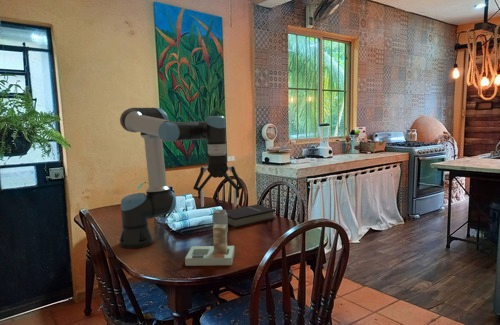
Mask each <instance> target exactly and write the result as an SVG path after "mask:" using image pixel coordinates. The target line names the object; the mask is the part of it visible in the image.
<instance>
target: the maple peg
mask: <svg viewBox="0 0 500 325" xmlns="http://www.w3.org/2000/svg"><path fill="white" fill-rule="evenodd" d="M212 238H213V240H212V241H213V246H214V254H225V255H228V252H227V246H228V232H227V224H215V225H214V227H213V226H212Z"/></svg>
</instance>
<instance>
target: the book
mask: <svg viewBox="0 0 500 325" xmlns="http://www.w3.org/2000/svg"><path fill="white" fill-rule="evenodd" d="M225 210H226V209H225ZM274 212H276V209H274V208H271V207H268V206H264V205H261V204H257V203H256V204H253V205H247V206H246V205H245V206H241V207H237V208H231V209H227V210H226V213H227V220H228V226H229V227H231V228H232V229H240V228H243V227H247V226H251V225H255V224H259V223H264V222H268V221H273V220H276V217H274V216H275V215H274Z"/></svg>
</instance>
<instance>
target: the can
mask: <svg viewBox="0 0 500 325" xmlns="http://www.w3.org/2000/svg"><path fill="white" fill-rule="evenodd" d="M215 224H227V233H228V232H229V227H228V220H227V213H226V209H216V210H213V212H212V228H213V227H214V225H215Z"/></svg>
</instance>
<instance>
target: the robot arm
mask: <svg viewBox="0 0 500 325" xmlns="http://www.w3.org/2000/svg"><path fill="white" fill-rule="evenodd" d="M119 123H120V125H121V127H122V128H123V129H124V130H125V131H127V132H130V133H140V137H141V138H143V140H144V148H145V152H144V153H145V159H146V170H147V171H146V172H147V180H148V188H147V189H146V190H145V191H146V193H145V192H138V193H137V192H136V193H132V194H128V195H126V196H124V197H122V199H121V200H120V213H121V226H122V227H121V228H122V230H121V235H120V237H119V247H120V248H123V249H128V250H129V249H132V250H133V249H139V248H144V247H147V246H149V245H151V244H152V243H153V242H154V240H153V239H154V238H153V234H152V232H151V229H150V228H149V221H148V220H150V219H154V218H158V217H161V216H166V215H169V214H171V213H173V212H174V210H175V209H176V205H177V198H176V195H175V193H174V192H173V191H172V190H171V187H170V186H169V185H167V176H166V165H165V154H164V144H163V143H164V142H166V143H167V142H168V143H173V142H181V141H196V140H198V141H199V140H206V141H207V143H206V144H207V154H208V155H207V162H208V163H207V164H208V166H201V167H200V172H199V175H198V176H197V179H196V181H195V182H194V186H193V187H192V189H193V190H195V191H197V196H198V199H199V200H200V207H201V208H204V206H205V198H204V197H205V194H204V192H205V191H204V189H203V188H204V187H205V185H206V184H207V183H208V182H209V181H210V180H211V178H214V179H216V178H220V179H221V178H224V179H226V180H227V182H228V183H229V184H230V185H231V186H232V187H233V189H234V190H233V198H234V199H233V205H234V208H235V207H237V205H238V199H239V198H240V190H243V189H244V185H243V182H242V181H241V179H240V177H239V175H238V172H236V167H235V165H232V166H228V158H227V157H228V155H226V154H227V151H228V150H227V125H226V124H227V123H226V117H225V116H223V115H209V116H207V117H206V121H205V120H204V121H201V120H200V121H198V120H197V121H196V120H195V121H174V120H169V117H168V114H167V113H166V112H165V111H164V109H162V108H161V107H130V108H128V109H125V110H124V111H123V112H122V113H121V114H120V117H119ZM228 170H229V171H230V173H231V174H232V175H233V177H234V179H235V181H236V182H235V181H234V180H233V179H232V178H231V177H230V175H229V174H228V173H227V172H228ZM206 171H207V172H208V173H209V174H208V176H207V177H206V178H205V179H204V180H203V182H202V183H201V184H200V182H201V180H202V178H203V175H204V173H206ZM199 184H200V186H199Z"/></svg>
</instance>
